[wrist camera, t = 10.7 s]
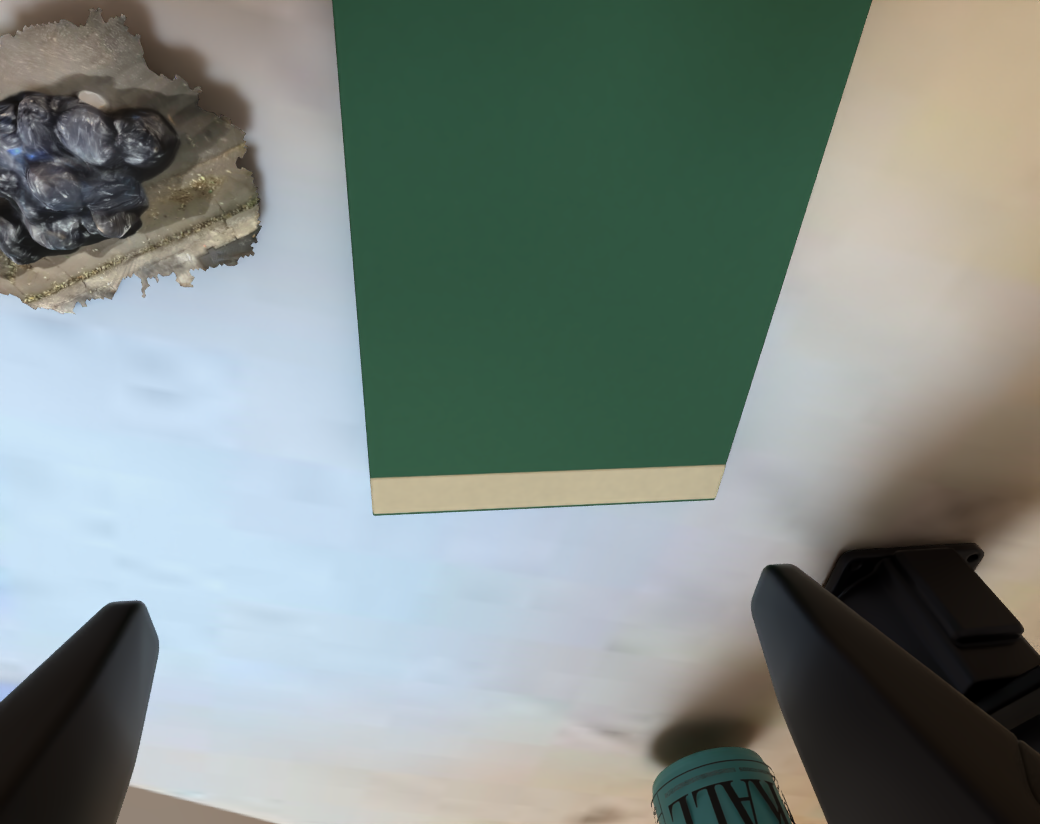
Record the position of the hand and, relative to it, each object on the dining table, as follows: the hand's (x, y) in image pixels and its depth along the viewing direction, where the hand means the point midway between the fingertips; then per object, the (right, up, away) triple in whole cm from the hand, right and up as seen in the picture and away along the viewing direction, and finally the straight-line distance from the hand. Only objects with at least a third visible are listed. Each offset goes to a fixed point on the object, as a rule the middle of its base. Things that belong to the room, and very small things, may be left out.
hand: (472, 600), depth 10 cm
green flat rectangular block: (+2, +8, +8) cm, 12 cm away
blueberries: (-9, +8, +6) cm, 14 cm away
